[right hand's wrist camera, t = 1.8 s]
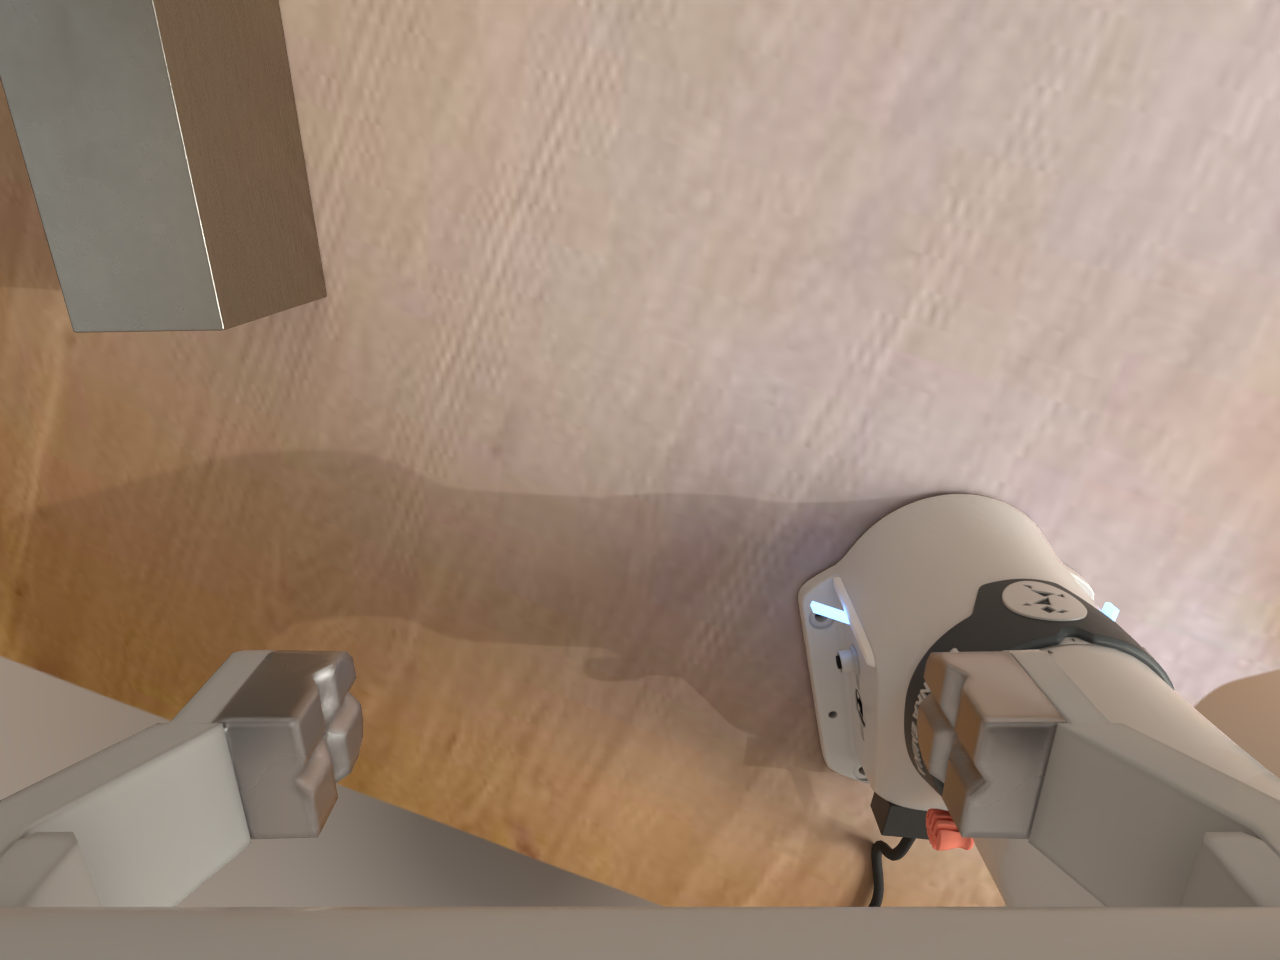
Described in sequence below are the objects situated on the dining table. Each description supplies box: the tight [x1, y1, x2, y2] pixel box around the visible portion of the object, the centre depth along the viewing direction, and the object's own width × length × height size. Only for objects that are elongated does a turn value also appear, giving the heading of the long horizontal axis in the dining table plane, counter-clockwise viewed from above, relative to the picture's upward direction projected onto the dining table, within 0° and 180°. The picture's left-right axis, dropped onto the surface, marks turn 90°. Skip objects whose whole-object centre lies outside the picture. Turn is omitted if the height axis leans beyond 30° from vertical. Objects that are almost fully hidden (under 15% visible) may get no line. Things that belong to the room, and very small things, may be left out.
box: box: [0, 0, 327, 333], centre depth 32 cm, size 24×6×11 cm, turn 1°
